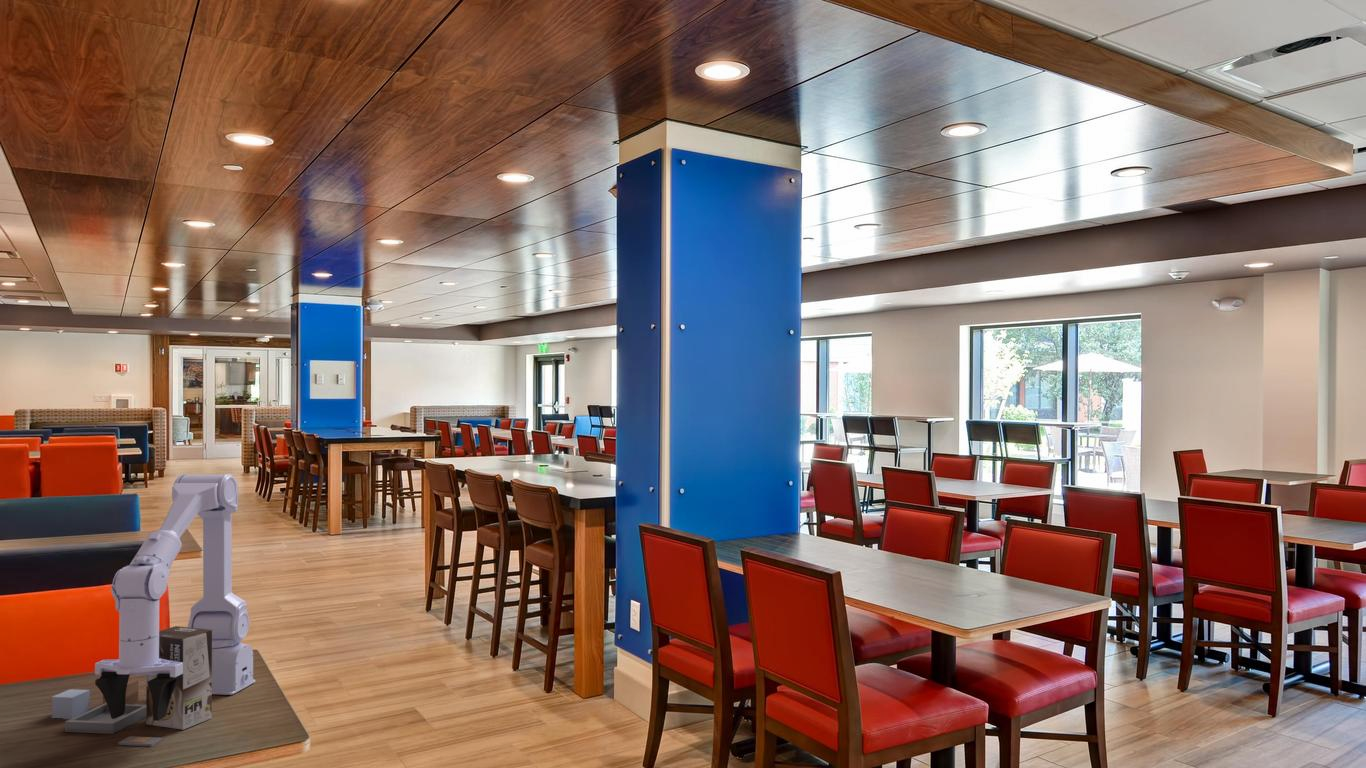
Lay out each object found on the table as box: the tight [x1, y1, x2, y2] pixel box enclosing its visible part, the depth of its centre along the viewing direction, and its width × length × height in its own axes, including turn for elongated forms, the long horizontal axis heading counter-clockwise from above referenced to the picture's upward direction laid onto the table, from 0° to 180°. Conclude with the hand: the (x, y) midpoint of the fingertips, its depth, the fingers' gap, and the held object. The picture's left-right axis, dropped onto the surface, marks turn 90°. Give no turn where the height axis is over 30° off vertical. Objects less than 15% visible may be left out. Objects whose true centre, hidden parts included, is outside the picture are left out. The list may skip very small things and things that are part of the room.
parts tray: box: [64, 703, 146, 735], centre depth 153 cm, size 9×9×2 cm
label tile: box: [117, 735, 164, 747], centre depth 144 cm, size 6×3×1 cm, turn 84°
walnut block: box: [102, 679, 139, 704], centre depth 162 cm, size 4×4×4 cm
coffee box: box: [145, 625, 213, 731], centre depth 154 cm, size 9×6×16 cm
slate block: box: [51, 688, 91, 720], centre depth 157 cm, size 4×4×4 cm
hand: (138, 717), depth 144 cm, fingers open, 7 cm apart
